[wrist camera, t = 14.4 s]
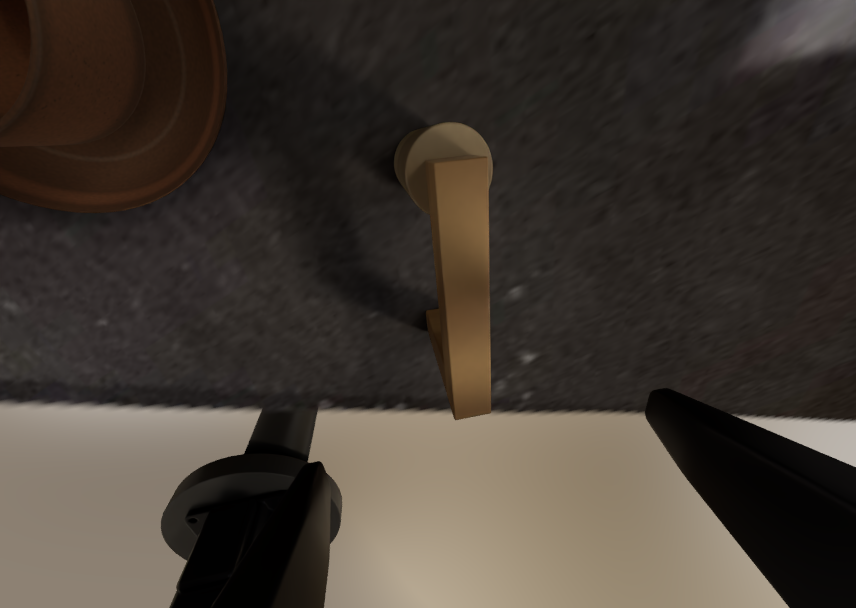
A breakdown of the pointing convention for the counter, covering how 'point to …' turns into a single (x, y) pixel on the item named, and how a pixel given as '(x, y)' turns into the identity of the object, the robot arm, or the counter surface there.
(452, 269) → the brown bracket-shaped piece
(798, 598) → the robot arm
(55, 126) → the cup and saucer
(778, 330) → the counter surface
